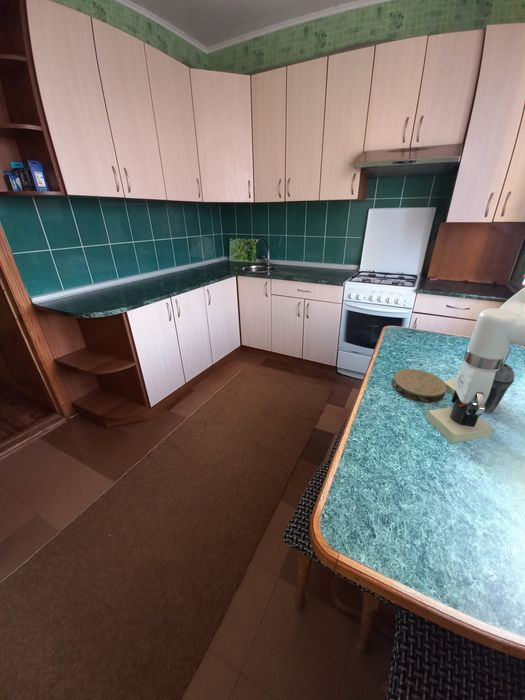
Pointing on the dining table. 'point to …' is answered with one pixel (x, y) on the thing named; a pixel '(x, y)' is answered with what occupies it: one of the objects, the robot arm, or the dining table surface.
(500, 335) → the robot arm
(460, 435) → the panel
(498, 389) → the beverage cup
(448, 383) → the block
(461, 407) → the timer dial
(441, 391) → the brown cork coaster
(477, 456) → the dining table surface
